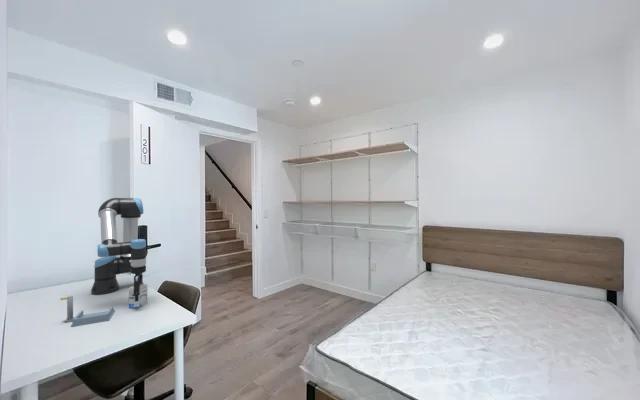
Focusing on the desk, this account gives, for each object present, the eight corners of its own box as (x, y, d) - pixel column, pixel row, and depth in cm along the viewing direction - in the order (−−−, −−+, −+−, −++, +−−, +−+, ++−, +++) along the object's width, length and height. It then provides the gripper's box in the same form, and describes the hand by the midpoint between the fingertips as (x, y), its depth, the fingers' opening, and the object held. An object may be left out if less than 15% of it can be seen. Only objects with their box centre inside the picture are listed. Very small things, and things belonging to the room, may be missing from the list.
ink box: (135, 309, 152) (135, 288, 152) (128, 308, 153) (128, 287, 153) (148, 303, 160) (148, 283, 160) (141, 302, 161) (141, 283, 161)
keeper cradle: (63, 319, 138) (63, 295, 139) (114, 311, 148) (114, 289, 149) (52, 330, 127) (52, 304, 127) (109, 320, 137) (109, 296, 137)
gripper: (133, 262, 165) (133, 297, 165) (126, 271, 145) (126, 311, 144) (148, 261, 169) (148, 295, 168) (143, 269, 148) (143, 308, 148)
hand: (138, 303), depth 156 cm, fingers open, 11 cm apart
